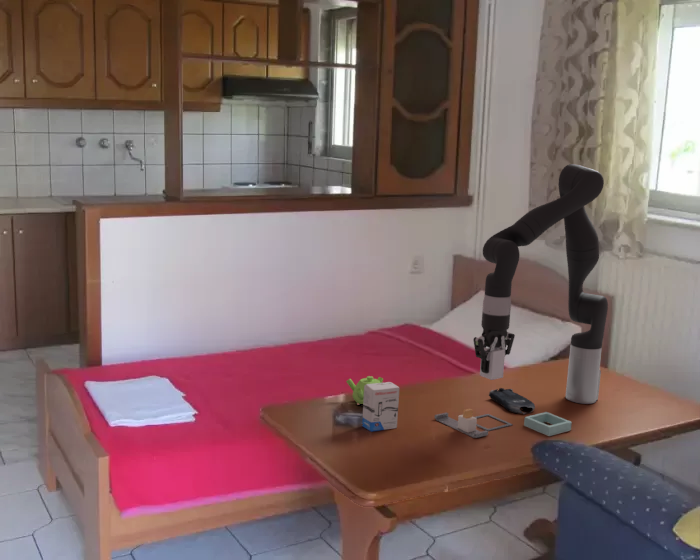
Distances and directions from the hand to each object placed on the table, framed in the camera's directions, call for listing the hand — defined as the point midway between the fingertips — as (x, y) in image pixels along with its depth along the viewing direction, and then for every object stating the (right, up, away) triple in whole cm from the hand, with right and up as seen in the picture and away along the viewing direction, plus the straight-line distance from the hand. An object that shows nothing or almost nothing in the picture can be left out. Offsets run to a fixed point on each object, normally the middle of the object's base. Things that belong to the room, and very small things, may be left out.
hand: (491, 370), depth 224 cm
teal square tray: (+16, -16, +1) cm, 22 cm away
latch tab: (-8, -15, -4) cm, 18 cm away
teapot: (-34, -11, +14) cm, 39 cm away
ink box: (-31, -15, -5) cm, 35 cm away
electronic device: (+10, -13, +18) cm, 24 cm away
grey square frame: (-1, -15, +2) cm, 15 cm away
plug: (0, -2, 0) cm, 2 cm away
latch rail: (-9, -15, -2) cm, 18 cm away
